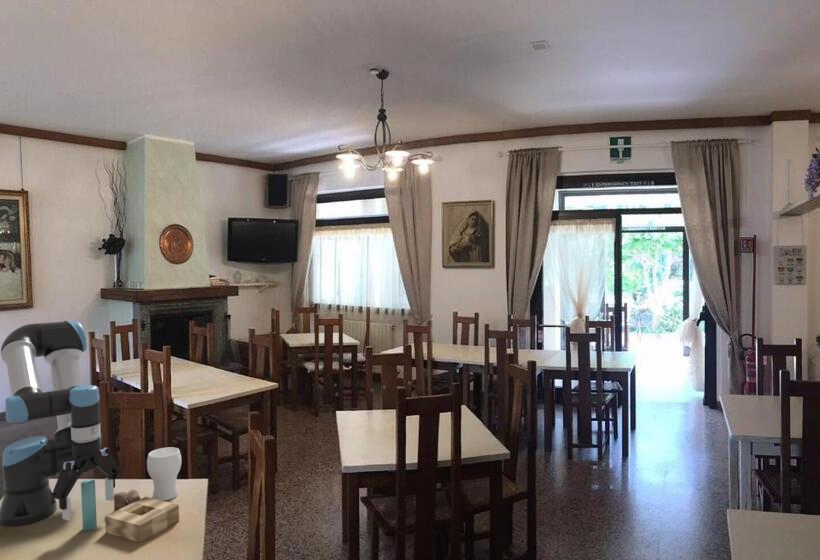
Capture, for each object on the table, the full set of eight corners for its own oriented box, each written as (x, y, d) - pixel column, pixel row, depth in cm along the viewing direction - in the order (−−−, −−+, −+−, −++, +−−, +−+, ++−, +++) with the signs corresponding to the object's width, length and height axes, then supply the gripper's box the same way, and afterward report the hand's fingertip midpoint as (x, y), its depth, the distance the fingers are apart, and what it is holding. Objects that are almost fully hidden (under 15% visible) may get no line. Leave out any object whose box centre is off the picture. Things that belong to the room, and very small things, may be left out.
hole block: (105, 532, 163) (105, 516, 163) (146, 512, 176) (145, 496, 176) (139, 542, 158) (139, 525, 157) (179, 520, 170) (178, 504, 170)
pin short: (111, 511, 177) (111, 495, 177) (121, 506, 180) (121, 491, 180) (119, 513, 176) (119, 497, 175) (129, 508, 179) (129, 493, 179)
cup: (169, 504, 181) (168, 459, 181) (140, 501, 184) (139, 456, 183) (188, 490, 192) (187, 447, 191) (161, 488, 194) (160, 445, 193)
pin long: (80, 529, 165) (78, 483, 165) (91, 524, 169) (89, 478, 168) (88, 532, 164) (86, 485, 163) (99, 526, 167) (97, 480, 166)
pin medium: (139, 510, 179) (135, 501, 185) (143, 499, 179) (139, 490, 186) (127, 509, 177) (124, 500, 183) (132, 498, 177) (128, 489, 184)
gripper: (52, 454, 152) (55, 530, 153) (131, 428, 175) (134, 494, 176) (34, 450, 155) (38, 525, 156) (115, 425, 178) (117, 490, 179)
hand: (89, 509), depth 166 cm, fingers open, 13 cm apart
